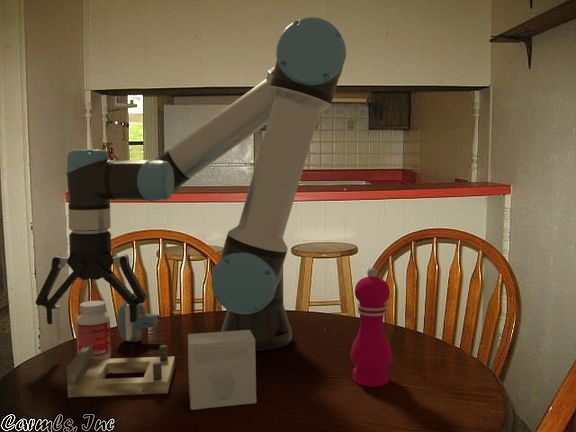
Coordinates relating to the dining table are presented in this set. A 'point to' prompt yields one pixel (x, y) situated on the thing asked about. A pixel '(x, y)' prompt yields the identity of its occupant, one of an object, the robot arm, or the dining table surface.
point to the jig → (91, 372)
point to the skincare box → (221, 369)
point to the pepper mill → (371, 332)
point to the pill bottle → (94, 329)
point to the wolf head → (141, 322)
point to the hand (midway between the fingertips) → (93, 339)
